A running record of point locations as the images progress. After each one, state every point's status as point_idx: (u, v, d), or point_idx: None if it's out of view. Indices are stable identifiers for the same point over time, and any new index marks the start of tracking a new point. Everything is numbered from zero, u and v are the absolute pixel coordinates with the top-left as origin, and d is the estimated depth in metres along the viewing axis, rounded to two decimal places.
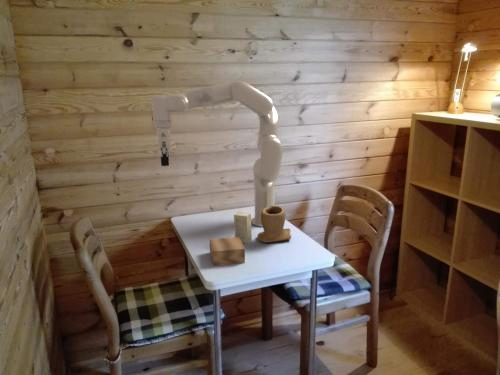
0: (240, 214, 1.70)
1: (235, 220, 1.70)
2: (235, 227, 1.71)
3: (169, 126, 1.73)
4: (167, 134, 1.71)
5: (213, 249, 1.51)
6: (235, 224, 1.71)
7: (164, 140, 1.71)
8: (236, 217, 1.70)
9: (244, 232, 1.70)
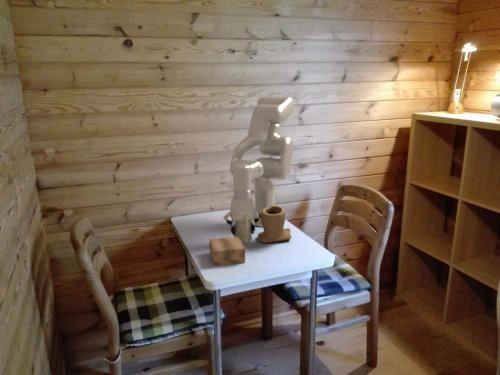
0: None
1: None
2: (235, 227, 1.71)
3: None
4: None
5: (213, 249, 1.51)
6: (235, 224, 1.71)
7: None
8: None
9: (244, 232, 1.70)
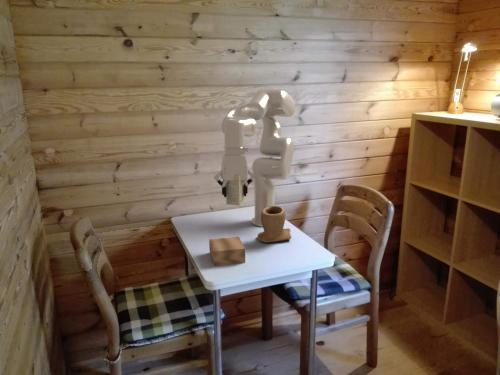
0: None
1: None
2: (226, 188, 1.59)
3: None
4: None
5: (213, 249, 1.51)
6: (226, 185, 1.58)
7: None
8: None
9: (236, 193, 1.57)
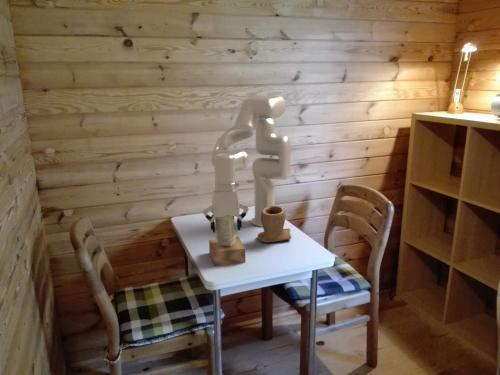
0: None
1: (216, 221, 1.53)
2: (217, 228, 1.54)
3: None
4: None
5: (214, 250, 1.51)
6: (217, 225, 1.54)
7: None
8: (217, 218, 1.53)
9: (227, 234, 1.53)
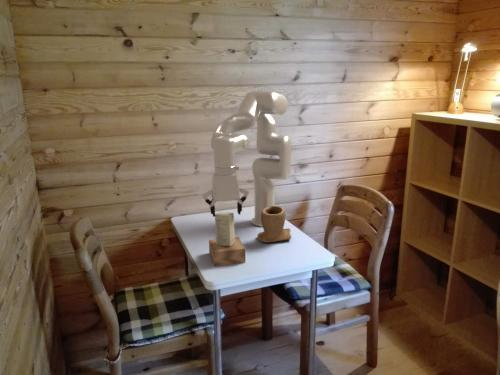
0: (222, 214, 1.53)
1: (216, 221, 1.53)
2: (216, 228, 1.54)
3: None
4: None
5: (214, 250, 1.51)
6: (216, 225, 1.53)
7: None
8: (217, 218, 1.52)
9: (227, 233, 1.53)
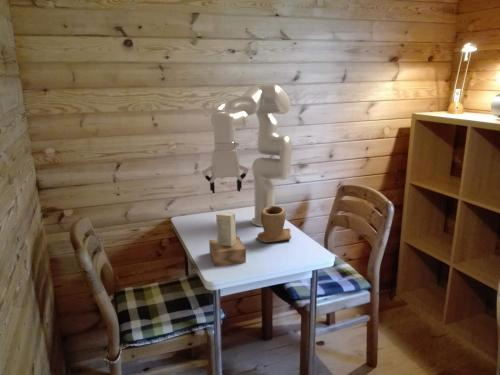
0: (223, 214, 1.53)
1: (217, 221, 1.53)
2: (217, 228, 1.54)
3: None
4: None
5: (214, 250, 1.51)
6: (217, 225, 1.53)
7: None
8: (218, 218, 1.52)
9: (228, 234, 1.52)
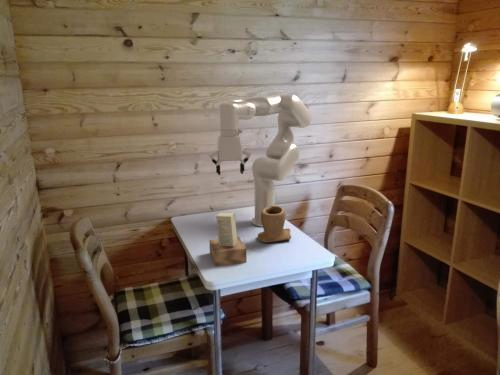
0: (223, 215, 1.52)
1: (218, 222, 1.52)
2: (218, 230, 1.53)
3: None
4: None
5: (215, 250, 1.51)
6: (218, 226, 1.52)
7: (241, 147, 1.69)
8: (218, 219, 1.51)
9: (229, 234, 1.52)
